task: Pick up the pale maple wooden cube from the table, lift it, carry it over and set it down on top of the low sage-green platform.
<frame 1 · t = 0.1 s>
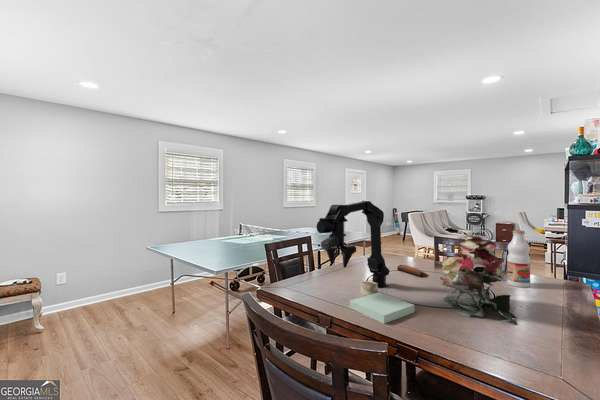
hand: (338, 265, 133), 15 cm above the table, tool pointing down, fingers open, 9 cm apart
rose bouquet: (474, 308, 119), on the table
fruit juice: (518, 285, 147), on the table
maple cube: (369, 294, 136), on the table
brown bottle: (413, 274, 172), on the table
platform: (381, 310, 117), on the table
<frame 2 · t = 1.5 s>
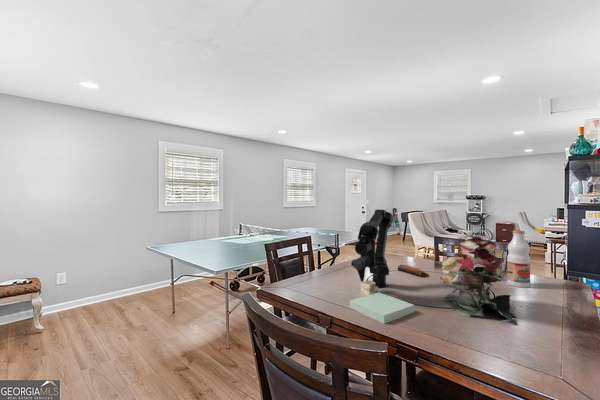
hand: (369, 283, 136), 5 cm above the table, tool pointing down, fingers open, 9 cm apart
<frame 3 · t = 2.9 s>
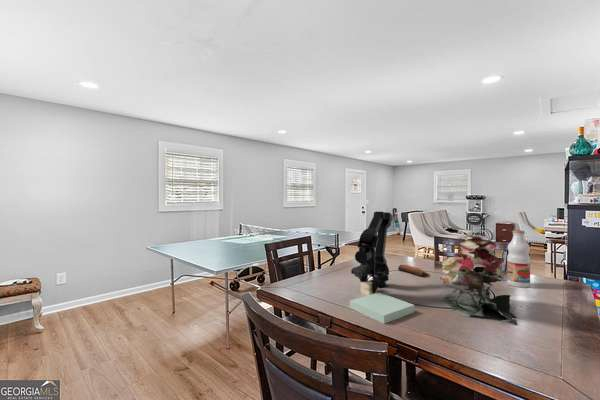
hand: (369, 291, 136), 1 cm above the table, tool pointing down, fingers closed on maple cube, 5 cm apart
maple cube: (369, 294, 136), on the table, touching gripper
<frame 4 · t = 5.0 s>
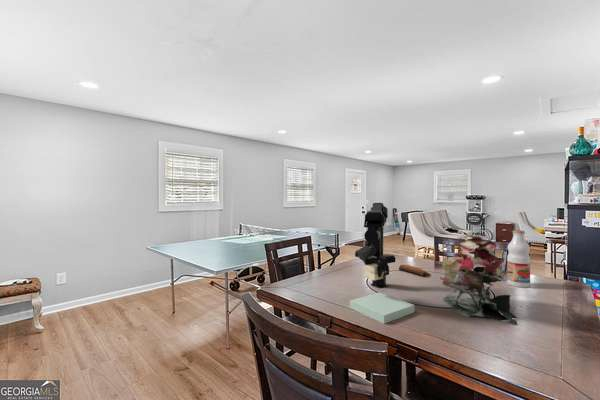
hand: (374, 275, 125), 12 cm above the table, tool pointing down, fingers closed on maple cube, 5 cm apart
maple cube: (374, 278, 125), point 11 cm above the table, touching gripper
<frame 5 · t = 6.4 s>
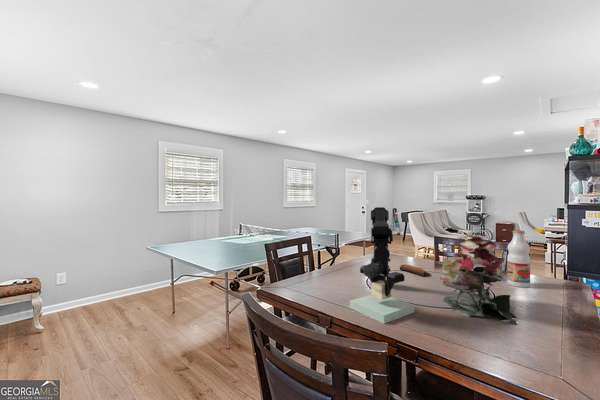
hand: (381, 294, 117), 7 cm above the table, tool pointing down, fingers closed on maple cube, 5 cm apart
maple cube: (381, 296, 117), point 6 cm above the table, touching gripper
when the fingers open (5 cm above the table, at t = 7.4 s): maple cube drops 1 cm, resting on platform.
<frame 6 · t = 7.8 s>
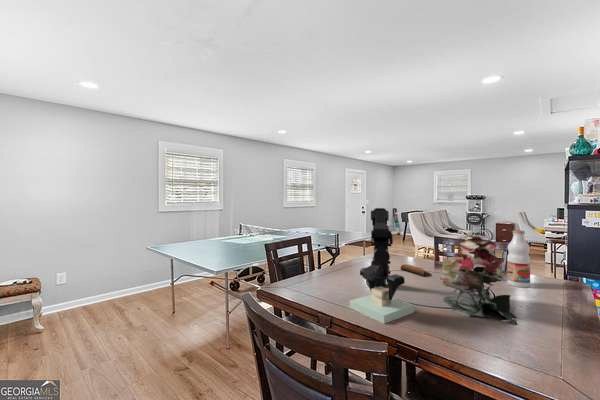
hand: (381, 296, 117), 5 cm above the table, tool pointing down, fingers open, 9 cm apart
maple cube: (381, 302, 117), point 3 cm above the table, touching platform
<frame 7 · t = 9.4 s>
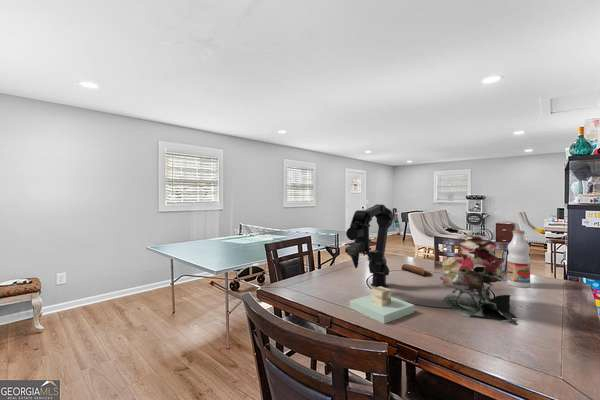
hand: (363, 270, 135), 12 cm above the table, tool pointing down, fingers open, 9 cm apart
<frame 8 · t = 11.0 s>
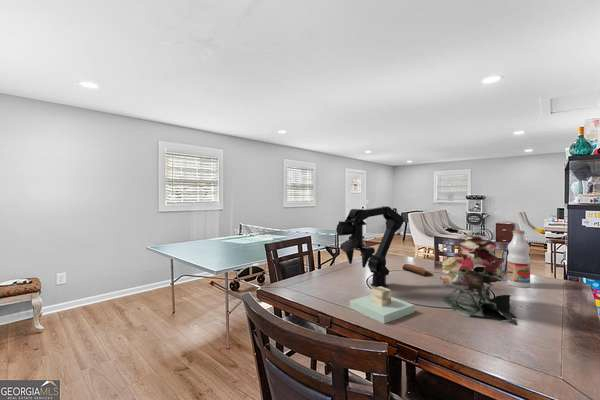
hand: (356, 265, 142), 12 cm above the table, tool pointing down, fingers open, 9 cm apart
at the end: maple cube inside the target area on the platform (0.1 cm from its centre), point 3.0 cm above the platform's base; maple cube tilted 0°; the gripper is holding nothing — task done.
